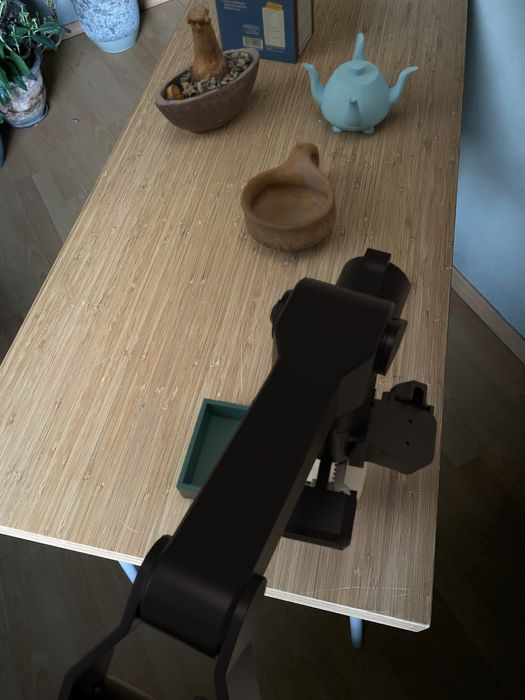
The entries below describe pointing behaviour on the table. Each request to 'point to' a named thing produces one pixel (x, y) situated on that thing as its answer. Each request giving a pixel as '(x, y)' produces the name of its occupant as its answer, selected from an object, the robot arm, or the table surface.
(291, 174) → the bowl
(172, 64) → the table surface
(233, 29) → the protein box
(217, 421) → the teal shallow tray
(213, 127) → the planter
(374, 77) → the teapot
